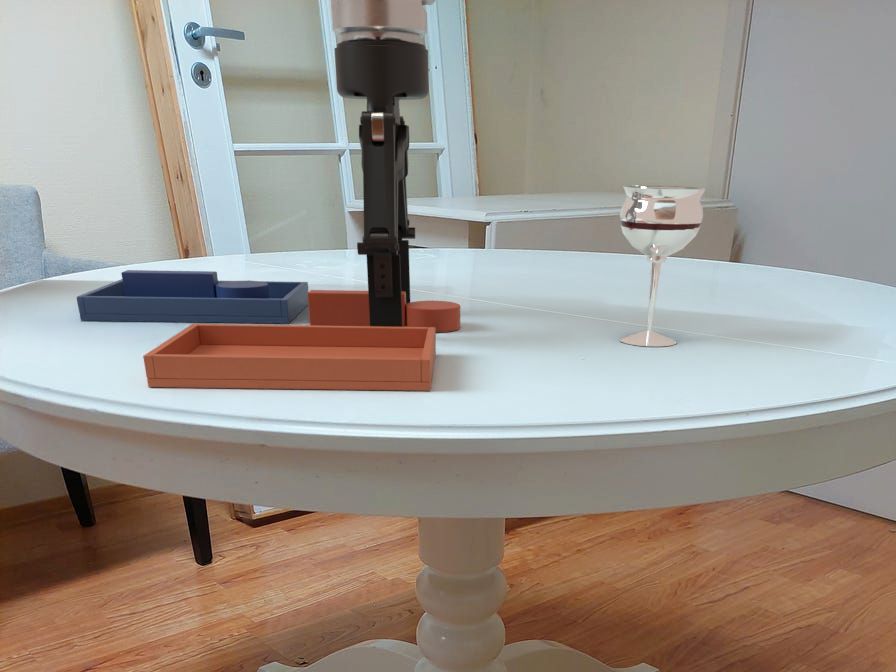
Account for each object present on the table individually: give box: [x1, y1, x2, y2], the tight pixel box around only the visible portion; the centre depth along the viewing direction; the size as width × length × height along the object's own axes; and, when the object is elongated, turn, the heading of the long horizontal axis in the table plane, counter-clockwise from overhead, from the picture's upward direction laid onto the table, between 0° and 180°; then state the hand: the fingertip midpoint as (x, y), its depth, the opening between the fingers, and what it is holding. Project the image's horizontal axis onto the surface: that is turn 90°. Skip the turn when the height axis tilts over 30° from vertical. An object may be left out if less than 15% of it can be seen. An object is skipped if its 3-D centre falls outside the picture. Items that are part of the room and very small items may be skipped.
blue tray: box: [75, 278, 310, 325], centre depth 87 cm, size 19×12×2 cm, turn 91°
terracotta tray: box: [142, 323, 437, 392], centre depth 65 cm, size 19×12×2 cm, turn 91°
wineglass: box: [618, 185, 707, 348], centre depth 75 cm, size 7×7×12 cm
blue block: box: [120, 269, 269, 299], centre depth 86 cm, size 14×5×3 cm, turn 91°
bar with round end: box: [307, 289, 461, 333], centre depth 81 cm, size 14×5×3 cm, turn 91°
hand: (392, 324), depth 81 cm, fingers open, 12 cm apart
